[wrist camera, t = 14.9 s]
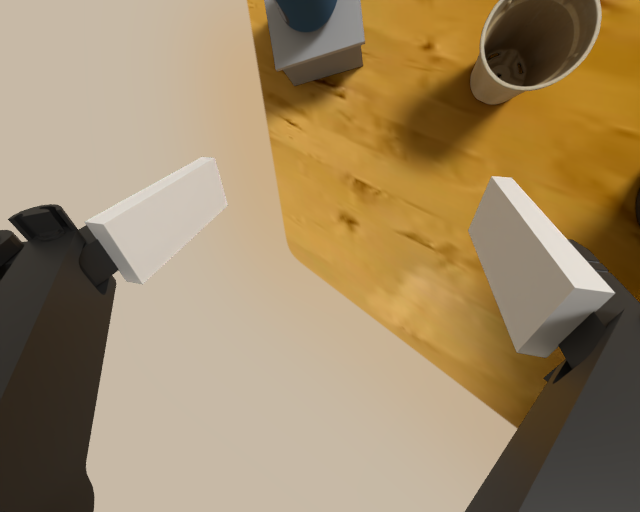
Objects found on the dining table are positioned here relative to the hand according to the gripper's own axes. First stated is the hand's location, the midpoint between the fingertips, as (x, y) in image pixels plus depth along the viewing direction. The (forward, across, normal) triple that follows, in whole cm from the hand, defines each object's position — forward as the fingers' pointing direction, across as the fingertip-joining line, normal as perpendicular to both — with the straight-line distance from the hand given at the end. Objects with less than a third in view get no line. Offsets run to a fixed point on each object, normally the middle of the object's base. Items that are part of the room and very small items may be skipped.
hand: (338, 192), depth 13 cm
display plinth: (+33, -8, +7) cm, 35 cm away
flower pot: (+31, +14, +2) cm, 34 cm away
